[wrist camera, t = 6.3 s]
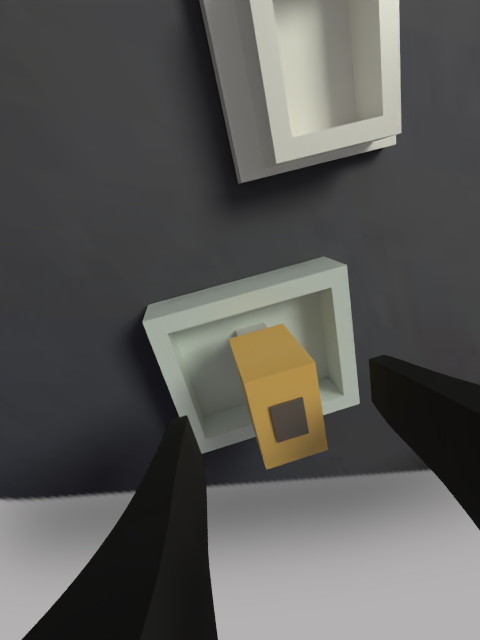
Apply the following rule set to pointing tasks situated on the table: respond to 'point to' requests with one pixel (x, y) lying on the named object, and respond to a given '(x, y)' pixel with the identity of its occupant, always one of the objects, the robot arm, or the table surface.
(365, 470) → the table surface
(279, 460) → the block
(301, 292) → the parts tray
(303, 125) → the white open box
